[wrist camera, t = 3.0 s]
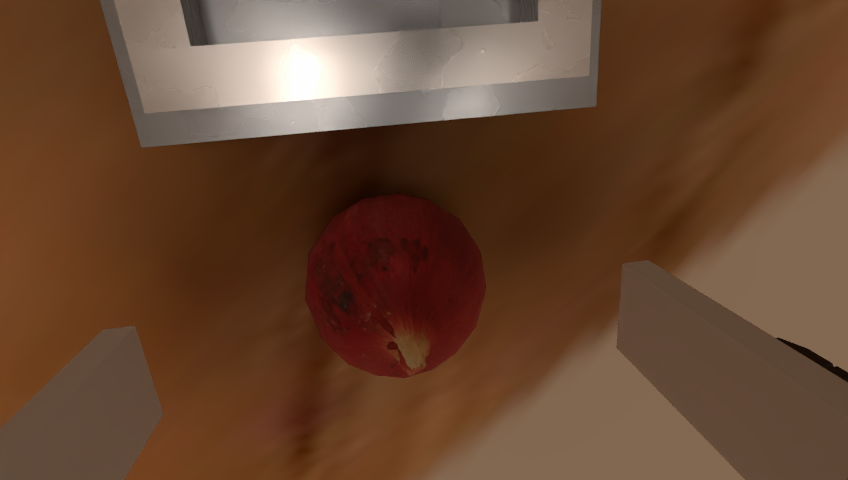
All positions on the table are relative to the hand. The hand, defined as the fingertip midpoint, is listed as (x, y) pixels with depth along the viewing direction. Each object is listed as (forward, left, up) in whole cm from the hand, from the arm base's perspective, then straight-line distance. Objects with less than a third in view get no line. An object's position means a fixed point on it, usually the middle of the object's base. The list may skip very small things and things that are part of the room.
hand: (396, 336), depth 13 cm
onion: (0, 0, -7) cm, 7 cm away
